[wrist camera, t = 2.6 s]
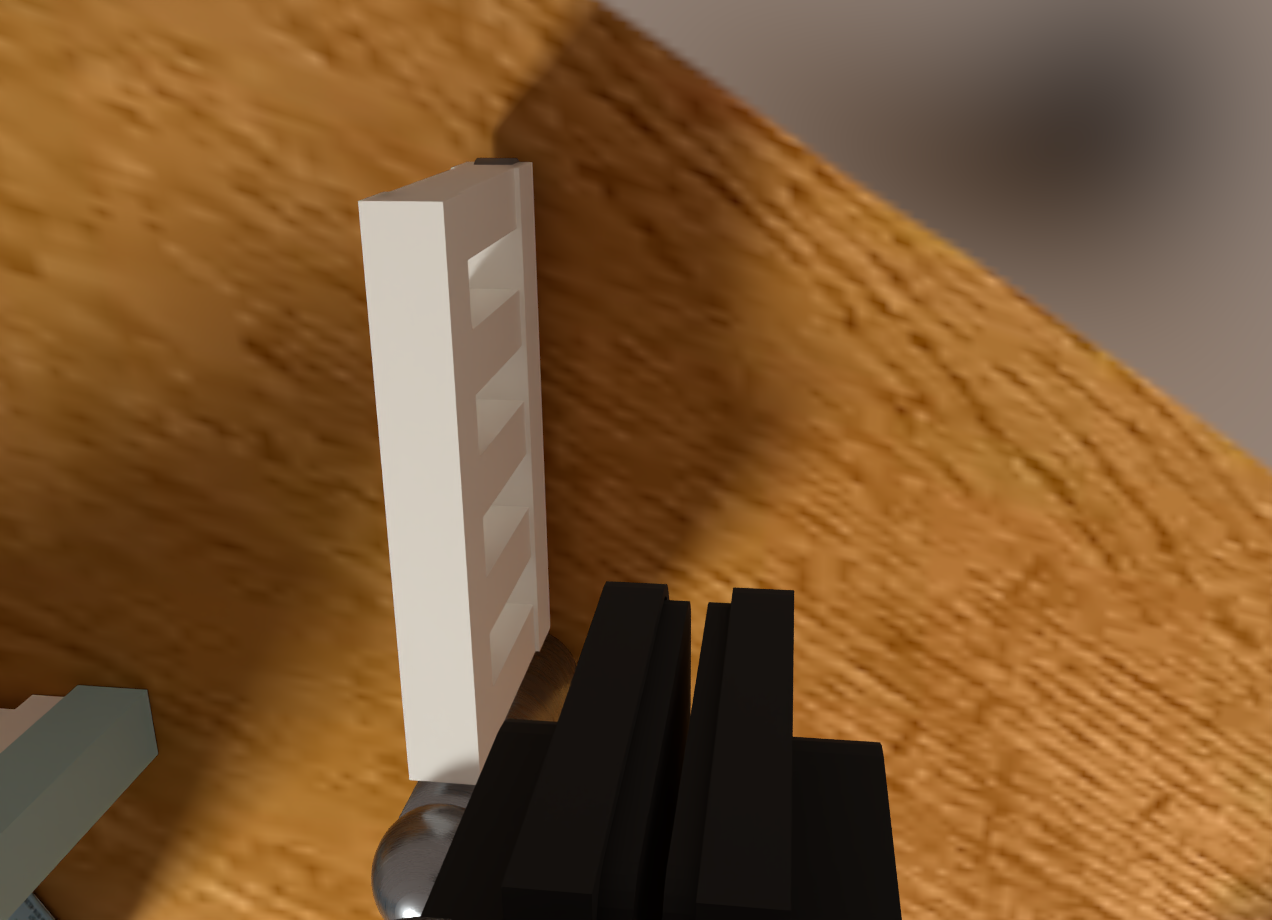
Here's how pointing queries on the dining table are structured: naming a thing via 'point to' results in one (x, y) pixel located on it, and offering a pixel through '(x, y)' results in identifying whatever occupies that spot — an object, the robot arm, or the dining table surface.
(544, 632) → the gate
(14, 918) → the gum box
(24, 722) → the fence panel
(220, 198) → the dining table surface
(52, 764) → the block
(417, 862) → the hinge post
